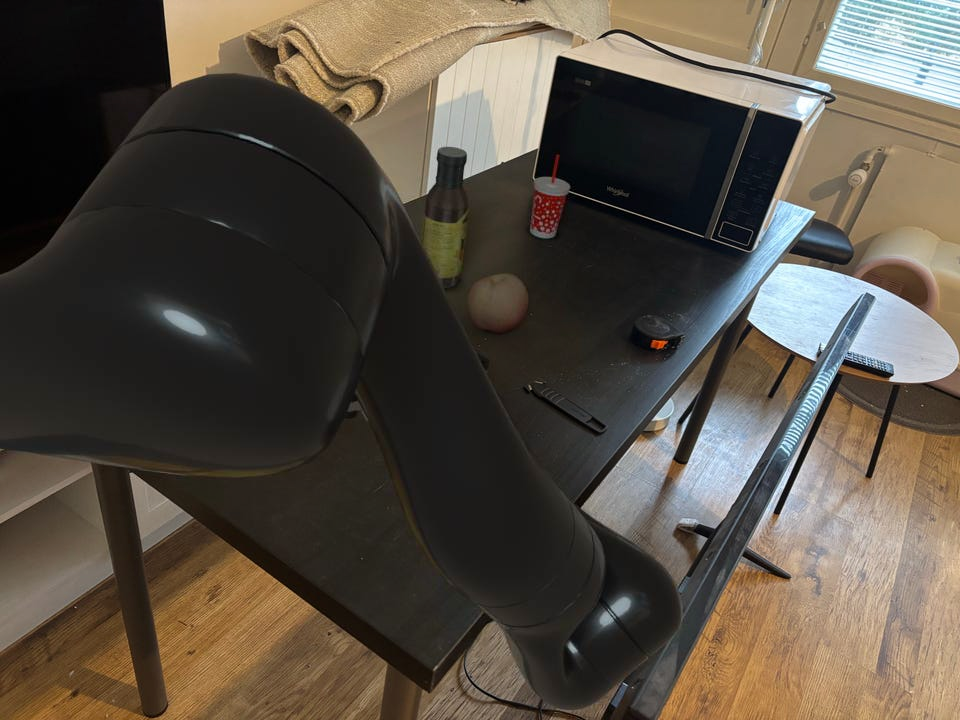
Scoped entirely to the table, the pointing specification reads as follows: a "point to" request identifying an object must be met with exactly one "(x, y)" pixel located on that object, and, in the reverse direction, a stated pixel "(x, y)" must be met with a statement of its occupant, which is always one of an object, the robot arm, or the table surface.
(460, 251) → the sauce bottle
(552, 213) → the beverage cup
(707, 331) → the table surface
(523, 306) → the fruit
